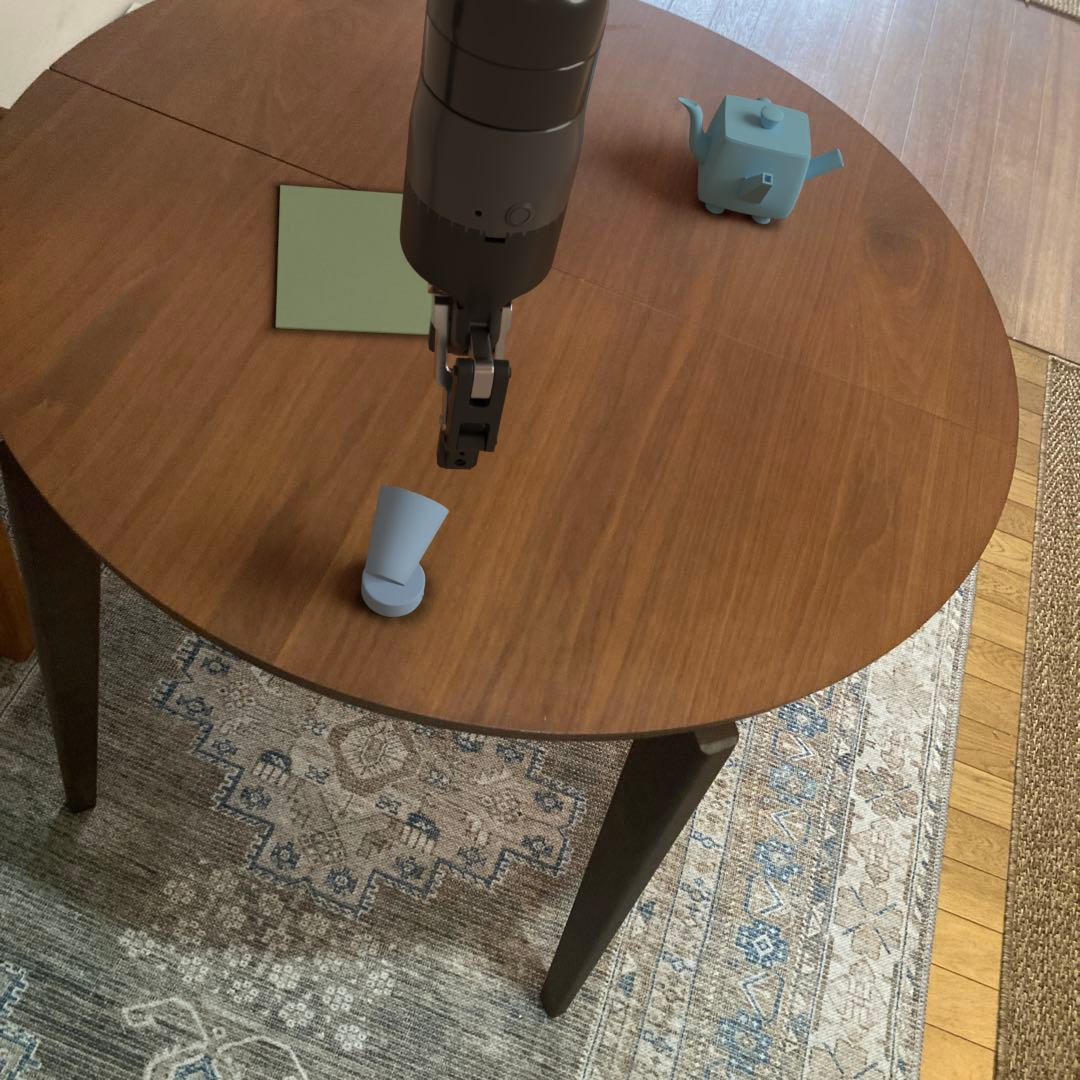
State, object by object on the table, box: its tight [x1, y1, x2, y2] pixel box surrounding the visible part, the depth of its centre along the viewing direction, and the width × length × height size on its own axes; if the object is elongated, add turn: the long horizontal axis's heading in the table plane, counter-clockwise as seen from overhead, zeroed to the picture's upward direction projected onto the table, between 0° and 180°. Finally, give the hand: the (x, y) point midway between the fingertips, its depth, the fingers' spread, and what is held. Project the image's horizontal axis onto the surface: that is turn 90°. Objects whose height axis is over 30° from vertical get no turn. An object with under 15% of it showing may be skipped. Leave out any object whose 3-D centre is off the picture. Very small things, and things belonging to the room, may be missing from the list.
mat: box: [275, 184, 432, 336], centre depth 94 cm, size 18×18×1 cm
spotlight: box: [360, 484, 450, 618], centre depth 72 cm, size 5×10×7 cm
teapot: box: [678, 94, 845, 225], centre depth 104 cm, size 18×14×10 cm
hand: (450, 404), depth 60 cm, fingers open, 8 cm apart
